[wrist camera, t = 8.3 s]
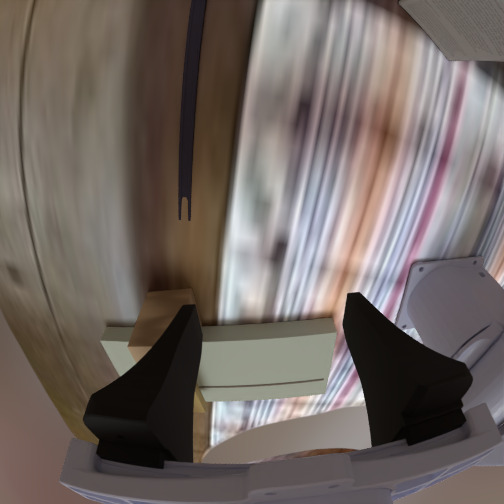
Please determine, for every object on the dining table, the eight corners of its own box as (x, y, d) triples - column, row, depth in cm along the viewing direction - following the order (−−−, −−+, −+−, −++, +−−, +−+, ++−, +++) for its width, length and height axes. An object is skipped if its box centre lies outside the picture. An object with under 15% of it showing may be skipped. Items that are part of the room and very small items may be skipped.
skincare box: (470, 35, 14) (585, 40, 3) (447, 62, 15) (572, 74, 5) (421, -23, 12) (528, -58, 1) (394, 1, 13) (509, -39, 3)
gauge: (191, 288, 25) (179, 345, 19) (219, 377, 31) (216, 427, 25) (148, 291, 25) (127, 346, 19) (184, 378, 31) (177, 427, 25)
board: (332, 317, 27) (337, 332, 25) (321, 379, 32) (325, 394, 30) (106, 326, 27) (99, 341, 25) (137, 385, 32) (133, 398, 30)
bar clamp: (140, -116, 6) (283, -122, 6) (149, -104, 8) (280, -107, 8) (114, 268, 23) (236, 279, 23) (123, 252, 25) (237, 262, 25)
